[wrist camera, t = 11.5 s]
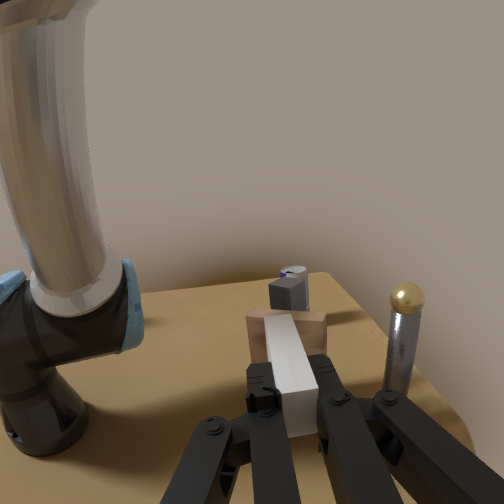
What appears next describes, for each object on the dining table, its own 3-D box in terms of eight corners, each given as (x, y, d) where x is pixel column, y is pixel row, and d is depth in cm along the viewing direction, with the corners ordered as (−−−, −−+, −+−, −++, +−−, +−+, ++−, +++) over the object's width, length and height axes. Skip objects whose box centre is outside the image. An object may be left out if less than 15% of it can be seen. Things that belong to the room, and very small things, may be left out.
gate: (370, 425, 31) (385, 313, 27) (369, 436, 29) (385, 323, 26) (265, 413, 37) (252, 308, 33) (260, 423, 35) (245, 316, 31)
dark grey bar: (323, 395, 39) (322, 277, 35) (298, 420, 35) (293, 295, 31) (289, 383, 43) (281, 271, 39) (263, 404, 39) (249, 286, 35)
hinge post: (351, 436, 30) (364, 286, 26) (380, 411, 34) (396, 268, 29) (389, 458, 26) (423, 301, 21) (416, 428, 29) (448, 279, 24)
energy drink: (278, 325, 62) (274, 270, 59) (296, 316, 65) (292, 263, 63) (297, 333, 58) (294, 275, 55) (315, 323, 61) (313, 267, 58)
